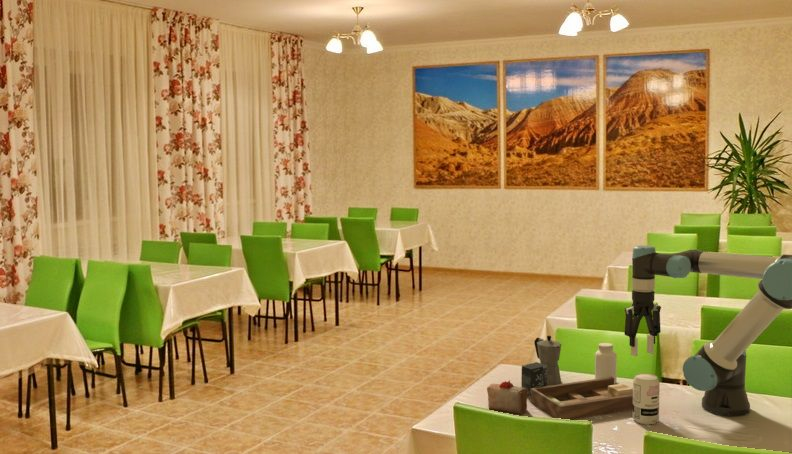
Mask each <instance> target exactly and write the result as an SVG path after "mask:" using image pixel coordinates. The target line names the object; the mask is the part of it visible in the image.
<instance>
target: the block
mask: <svg viewBox="0 0 792 454" xmlns="http://www.w3.org/2000/svg"><path fill="white" fill-rule="evenodd" d="M629 394H633V387H630V386H629V385H626V384H624V383H618V384H617V383H616V384H614V385H610V386H608V397H616V396H622V395H629Z"/></svg>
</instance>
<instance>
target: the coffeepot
mask: <svg viewBox="0 0 792 454" xmlns="http://www.w3.org/2000/svg"><path fill="white" fill-rule="evenodd" d="M546 338H547V339H545V340H544V339H543V338H540V337H536V338H535V340H534V347H535V352H536V356H537V359H539V363H541V364H544V365H547V386H551V385H558V384H561V382H562V378H561V377H562V376H561V372H560V365H559V364H558V363H559V361H560V357H561V350H562V343H561V342H560V341H558V340H557V341H556V340H552V336H551V335H546Z"/></svg>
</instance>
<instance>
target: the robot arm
mask: <svg viewBox="0 0 792 454" xmlns="http://www.w3.org/2000/svg"><path fill="white" fill-rule="evenodd" d="M631 259H632V260H631V261H632V266H631V267H632V275H631V282H632V283H631V288H632V290H631V301H632V304H631V306H630V307H625V308H624V312H625V322H624V336H626V337H628V338H629V346H630V355H632V356H634V357H638V353H639V352H638V351H639V350H638V349H639V347H638V345H639V344H638V343H639V341H638V339H639V338H638V337H637V335H638V330H639V326H640V323H641V320H642V319H643V317H644V319H645V323H646V327H647V330H648V334H646V353H647V354H649V355H654V353H655V352H654V351H655V344H656V337H658V334H661V309H662V307H661V305H658V304H655V303H654V301H655V291H654V290H655V288H656V286H655V285H656V279H655V278H656V276H663V277H668V278H669V277H670V278H674V279H684V278H687V276H688V275H689V274H690V273H694V274H695V273H696V274H709V275H717V276H727V277H728V276H729V277H736V278H747V279H757V280H760V281H759V282H758V283H757V290H758V291H757V292H756V293H755V295H754V296H753V297H752V298H751V299H750V300H749V301H748V302H747V303H746V305H745V306H744V307H742V309H741V310H740V311H739V312H738V313H737V315H736V316H735V317H734V318H733V319H732V320H731V321H730V322H729V323H728V324H727V326H726V327H725V328H724V330H723V331H722V332H721V333H720V334H719V335H718V336H717V337H716V339H714V340H711V341H707V342H705V343H704V344H703V345H702V346H701V348H700V349H699V350H698V351H697V352H696V353H695V354H694V355H690V356H689V357H687V358H686V359H685V361H684V362H683V364H682V372H683V373H682V374H683V377H684V380H685V381H686V382H687V384H688V385H689V386H690V387H692V388H693V389H695V390H698V391H700V392H704V394H703V397H702V398H701V408H702V409H704V410H705V411H707V412H709V413H712V414H716V415H720V416H727V417H729V416H730V417H741V416H740V415H742V416H746V415H748V414H750V413H751V404H750V401H749V398H748V394H747V391H746V373H747V372H746V366H747V357H748V356H747V349H748V348H749V347H750V346H751V345H752V344H753V342H755V340H756V339H757V338H758V337H759V336H760V335H761V334H762V333H763V332H764V331H765V330H766V329H767V328H768V327H769V325H771V324H772V322H773V321H775V319H776V318H777V317H778V316H779V315H780V314H781V313H782V312H783V310H792V254H781V255H780V256H768V255H767V256H766V255H754V254H753V255H752V254H741V253H740V254H738V253H727V252H714V251H702V250H700V249H688V250H685V251H680V252H674V253H669V254H668V253H660V252H659V253H658V252H657V251H656V248H655V247H654V246H652V245H636V246H634V247H633V249H632V258H631ZM745 414H746V415H745Z"/></svg>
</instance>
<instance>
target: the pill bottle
mask: <svg viewBox="0 0 792 454" xmlns="http://www.w3.org/2000/svg"><path fill="white" fill-rule="evenodd" d="M597 348H598V350H597V351H596V352H595V354H594V379H600V378H607V377H613V378H614V385H616V384H617V376H618V375H617V373H618V372H617V371H618V369H617V365H618V363H617V361H618V360H617V357H618V355H617V353H616V352H615V351H614V345H613V343H610V342H601V343H598V347H597Z"/></svg>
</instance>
